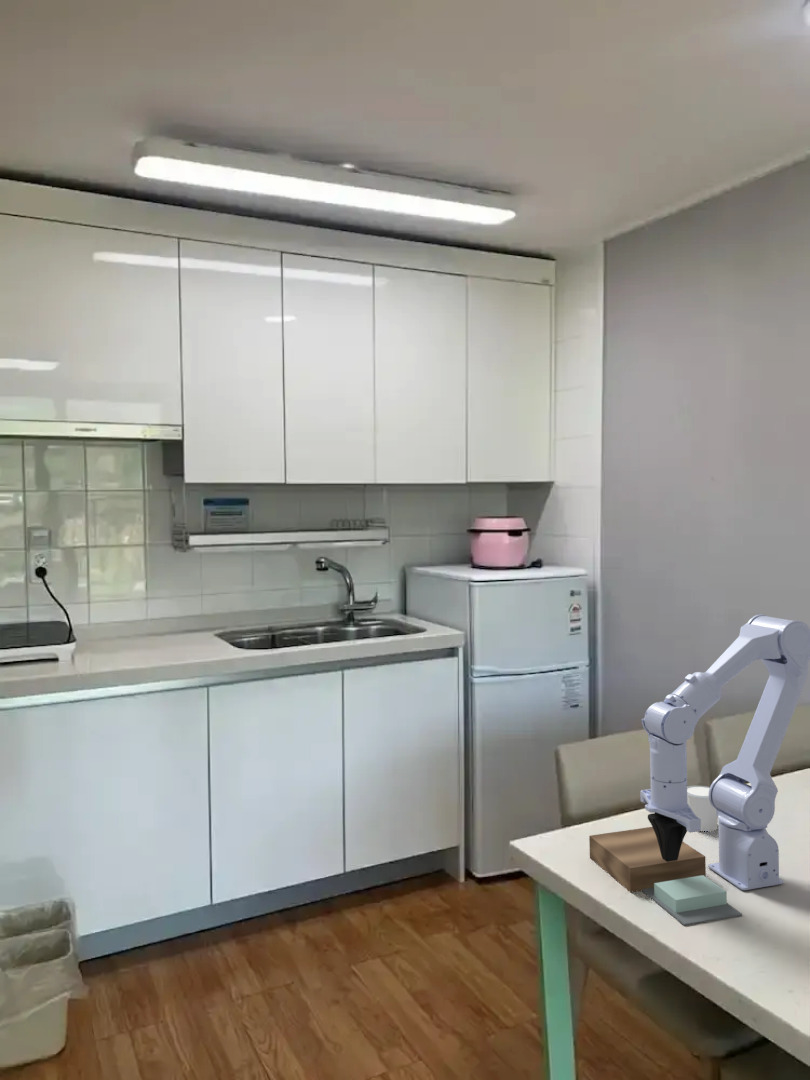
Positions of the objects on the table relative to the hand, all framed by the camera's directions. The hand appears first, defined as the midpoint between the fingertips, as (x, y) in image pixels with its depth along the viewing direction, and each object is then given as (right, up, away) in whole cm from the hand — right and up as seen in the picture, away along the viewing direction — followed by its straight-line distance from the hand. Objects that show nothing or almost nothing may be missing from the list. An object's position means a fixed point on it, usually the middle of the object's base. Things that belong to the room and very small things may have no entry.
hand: (669, 859), depth 136 cm
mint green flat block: (+2, -3, -5) cm, 6 cm away
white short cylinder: (+14, -4, +25) cm, 29 cm away
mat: (+2, -5, -5) cm, 7 cm away
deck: (-2, -5, +7) cm, 9 cm away
